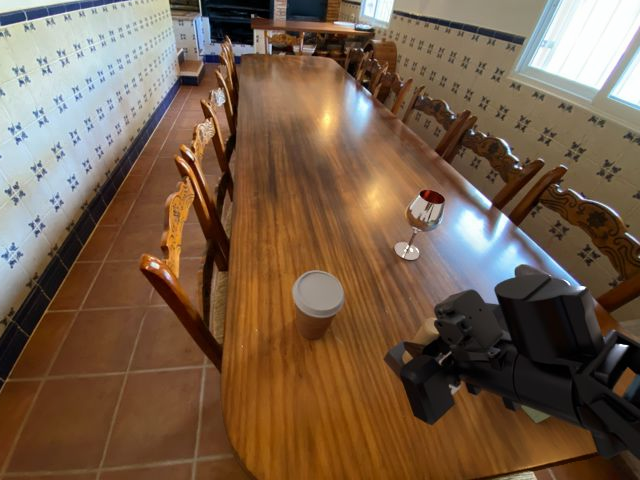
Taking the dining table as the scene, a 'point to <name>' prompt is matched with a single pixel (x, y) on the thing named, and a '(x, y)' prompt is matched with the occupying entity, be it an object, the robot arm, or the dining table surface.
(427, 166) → the dining table surface
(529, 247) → the dining table surface
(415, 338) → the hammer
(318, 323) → the disposable coffee cup
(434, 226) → the wineglass
